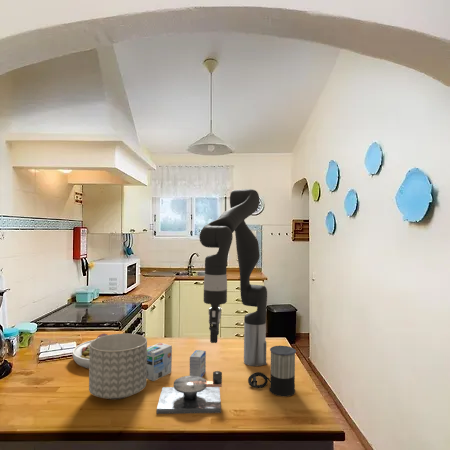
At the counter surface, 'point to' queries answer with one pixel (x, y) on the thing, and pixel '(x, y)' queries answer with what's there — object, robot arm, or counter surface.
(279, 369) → the milk frother
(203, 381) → the handwheel
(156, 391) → the counter surface
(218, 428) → the counter surface
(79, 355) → the bowl
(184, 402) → the base
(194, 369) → the medicine box
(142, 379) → the planter
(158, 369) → the light bulb box
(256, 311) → the robot arm
